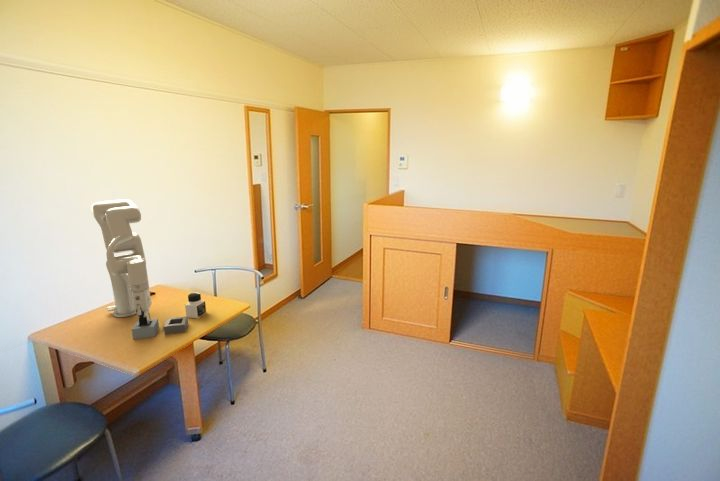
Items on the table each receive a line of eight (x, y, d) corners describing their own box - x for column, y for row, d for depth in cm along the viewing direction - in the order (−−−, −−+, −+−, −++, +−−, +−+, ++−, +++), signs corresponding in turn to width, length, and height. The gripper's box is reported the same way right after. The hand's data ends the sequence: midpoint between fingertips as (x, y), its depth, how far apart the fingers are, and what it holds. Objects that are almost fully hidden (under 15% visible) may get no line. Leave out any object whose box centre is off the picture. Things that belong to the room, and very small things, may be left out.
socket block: (133, 339, 168) (131, 329, 167) (138, 330, 176) (137, 320, 175) (154, 336, 170) (153, 326, 169) (159, 327, 179) (158, 318, 177)
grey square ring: (164, 334, 172) (163, 326, 171) (168, 325, 181) (167, 318, 180) (185, 331, 175) (184, 324, 174) (188, 323, 183) (187, 316, 182)
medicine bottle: (198, 318, 189) (195, 297, 186) (186, 317, 190) (183, 295, 187) (206, 312, 195) (204, 291, 192) (194, 311, 197) (192, 290, 194)
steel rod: (140, 335, 171) (137, 312, 168) (143, 331, 175) (139, 308, 172) (150, 334, 172) (146, 311, 169) (152, 330, 176) (149, 307, 173)
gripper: (143, 292, 161) (149, 329, 165) (153, 279, 176) (158, 314, 181) (124, 293, 159) (130, 331, 163) (135, 280, 174) (141, 315, 179)
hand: (145, 322), depth 172 cm, fingers closed on steel rod, 4 cm apart
